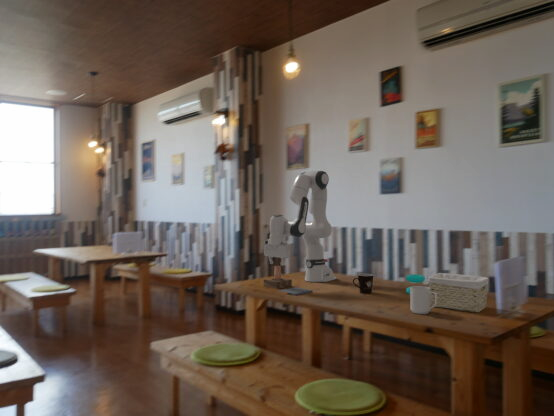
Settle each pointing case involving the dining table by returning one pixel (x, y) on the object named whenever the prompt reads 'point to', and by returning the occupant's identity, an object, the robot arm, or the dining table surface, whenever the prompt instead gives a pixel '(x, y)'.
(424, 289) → the mug
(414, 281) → the donuts
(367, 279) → the coffee mug
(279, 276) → the dowel pin
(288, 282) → the holder block
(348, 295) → the dining table surface
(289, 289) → the slate mat
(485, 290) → the storage basket
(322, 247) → the robot arm
